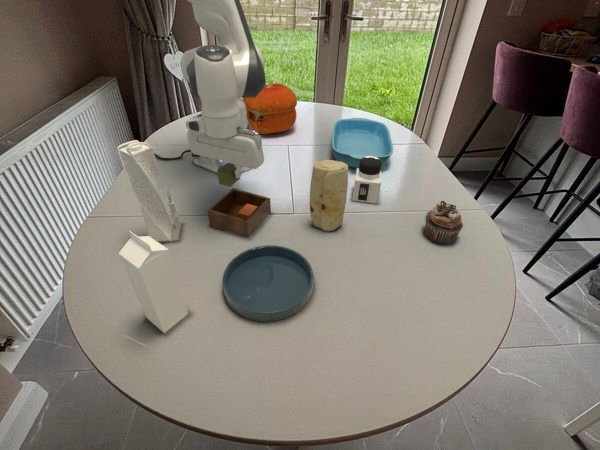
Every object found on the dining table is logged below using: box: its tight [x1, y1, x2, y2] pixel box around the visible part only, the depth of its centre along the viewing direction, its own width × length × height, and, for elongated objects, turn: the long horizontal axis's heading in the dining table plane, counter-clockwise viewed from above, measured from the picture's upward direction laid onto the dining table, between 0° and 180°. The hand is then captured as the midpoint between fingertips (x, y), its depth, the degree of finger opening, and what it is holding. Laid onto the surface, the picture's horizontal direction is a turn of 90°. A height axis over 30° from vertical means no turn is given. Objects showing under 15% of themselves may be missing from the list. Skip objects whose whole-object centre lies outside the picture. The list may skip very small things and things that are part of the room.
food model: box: [309, 159, 349, 232], centre depth 88 cm, size 10×7×20 cm
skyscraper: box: [116, 139, 182, 244], centre depth 81 cm, size 8×8×28 cm
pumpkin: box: [242, 81, 298, 135], centre depth 141 cm, size 23×23×20 cm
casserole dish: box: [331, 117, 394, 169], centre depth 129 cm, size 37×22×7 cm, turn 174°
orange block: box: [238, 204, 258, 220], centre depth 93 cm, size 4×5×4 cm
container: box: [351, 156, 383, 204], centre depth 103 cm, size 8×8×13 cm
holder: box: [207, 187, 272, 238], centre depth 94 cm, size 13×13×6 cm
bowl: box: [221, 244, 315, 323], centre depth 76 cm, size 20×20×4 cm
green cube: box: [216, 163, 241, 188], centre depth 87 cm, size 4×5×4 cm
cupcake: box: [424, 200, 464, 245], centre depth 89 cm, size 10×10×10 cm
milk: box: [118, 230, 189, 334], centre depth 63 cm, size 6×6×22 cm
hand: (229, 174), depth 88 cm, fingers closed on green cube, 3 cm apart
